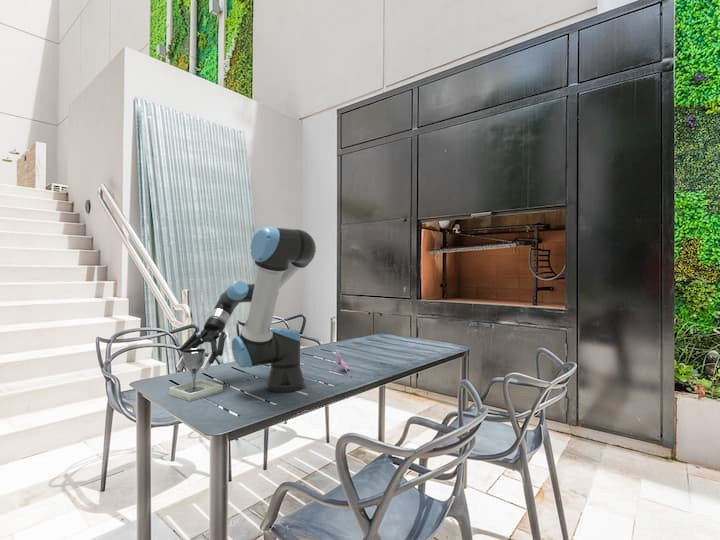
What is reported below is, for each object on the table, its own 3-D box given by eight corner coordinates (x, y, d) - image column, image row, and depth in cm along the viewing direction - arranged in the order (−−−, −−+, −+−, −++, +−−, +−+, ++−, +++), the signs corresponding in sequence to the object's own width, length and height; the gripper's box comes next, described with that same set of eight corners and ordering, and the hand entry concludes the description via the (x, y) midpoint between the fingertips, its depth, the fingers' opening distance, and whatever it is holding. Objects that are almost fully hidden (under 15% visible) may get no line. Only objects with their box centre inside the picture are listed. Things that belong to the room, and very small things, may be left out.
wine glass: (178, 391, 146) (177, 351, 146) (195, 385, 153) (195, 347, 153) (192, 394, 143) (192, 353, 143) (210, 388, 150) (209, 349, 150)
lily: (338, 378, 171) (349, 359, 172) (318, 365, 177) (329, 346, 178) (349, 380, 181) (359, 362, 182) (331, 367, 187) (340, 349, 188)
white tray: (222, 391, 149) (222, 385, 149) (189, 401, 138) (189, 394, 138) (202, 385, 157) (202, 379, 157) (169, 394, 146) (169, 387, 146)
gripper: (245, 328, 159) (222, 377, 144) (197, 326, 165) (170, 372, 150) (238, 317, 154) (213, 366, 139) (188, 315, 160) (159, 362, 145)
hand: (191, 369), depth 145 cm, fingers open, 10 cm apart
